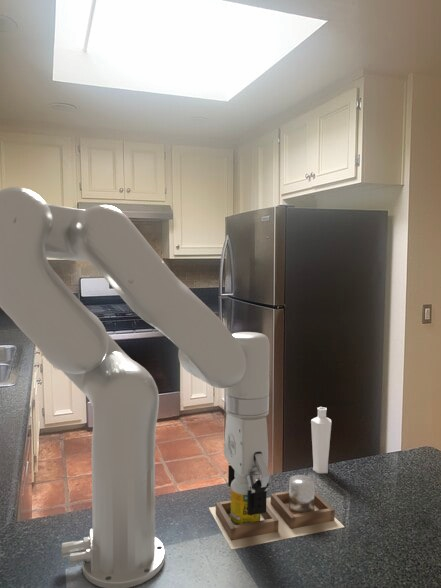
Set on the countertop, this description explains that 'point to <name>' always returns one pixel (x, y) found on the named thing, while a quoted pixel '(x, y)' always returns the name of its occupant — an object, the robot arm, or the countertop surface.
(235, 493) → the supplement bottle
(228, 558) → the countertop surface
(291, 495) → the silver cylinder
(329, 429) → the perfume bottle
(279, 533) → the socket board
